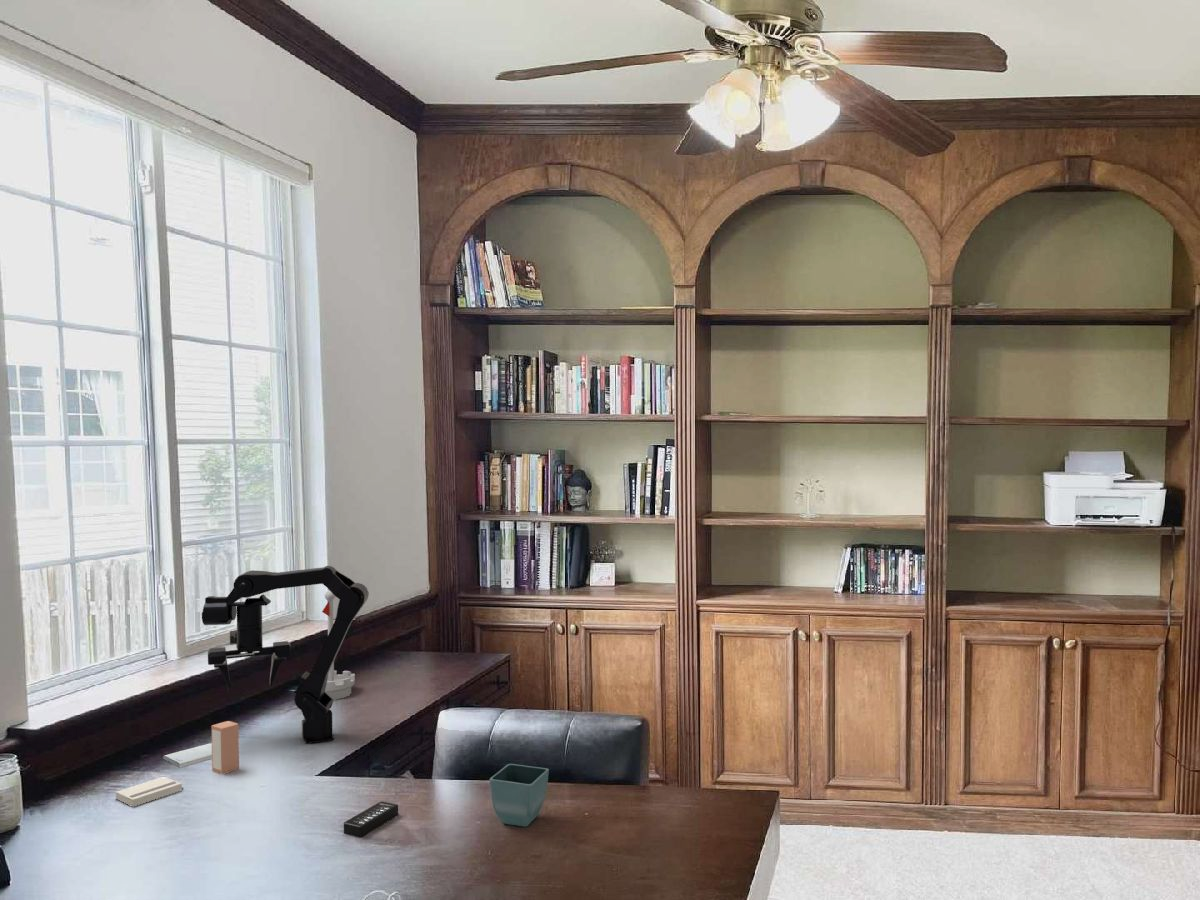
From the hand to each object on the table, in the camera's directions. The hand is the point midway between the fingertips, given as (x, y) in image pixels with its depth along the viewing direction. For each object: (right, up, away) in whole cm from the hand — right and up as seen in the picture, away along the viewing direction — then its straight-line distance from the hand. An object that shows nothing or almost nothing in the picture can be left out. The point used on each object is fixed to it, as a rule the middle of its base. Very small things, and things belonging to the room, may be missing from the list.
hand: (250, 688), depth 215 cm
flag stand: (+8, -13, +40) cm, 42 cm away
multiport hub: (+41, -14, -47) cm, 64 cm away
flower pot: (+69, -13, -47) cm, 85 cm away
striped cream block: (-8, -13, -32) cm, 36 cm away
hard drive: (-8, -14, -9) cm, 19 cm away
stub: (+2, -13, -18) cm, 23 cm away
